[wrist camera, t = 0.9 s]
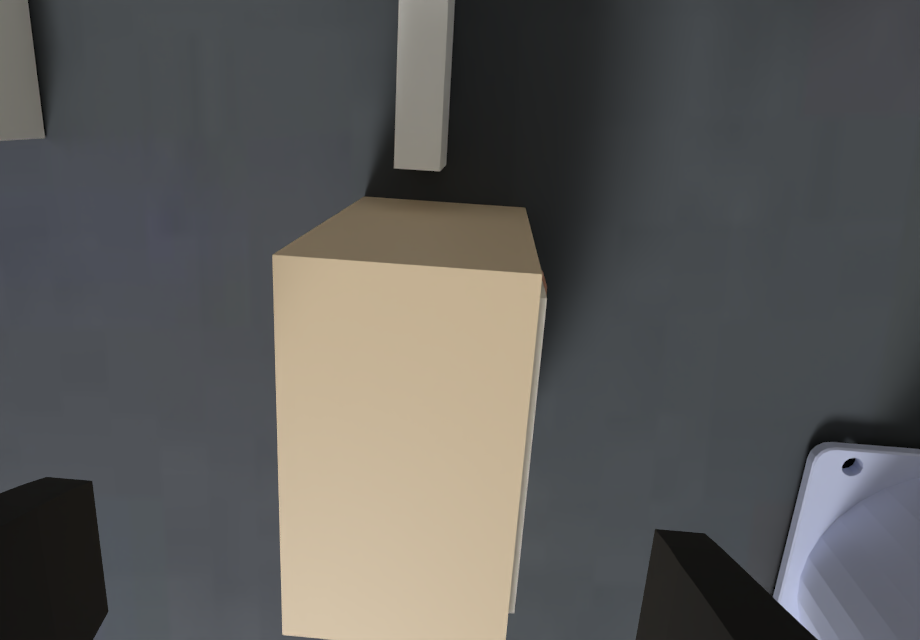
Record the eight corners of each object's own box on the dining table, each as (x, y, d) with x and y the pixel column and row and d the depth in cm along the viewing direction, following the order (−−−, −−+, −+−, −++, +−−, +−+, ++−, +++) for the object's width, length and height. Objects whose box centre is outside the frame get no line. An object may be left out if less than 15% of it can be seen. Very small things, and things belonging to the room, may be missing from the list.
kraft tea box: (509, 459, 18) (514, 656, 12) (360, 446, 19) (282, 635, 12) (533, 207, 16) (555, 275, 10) (364, 196, 16) (272, 255, 10)
